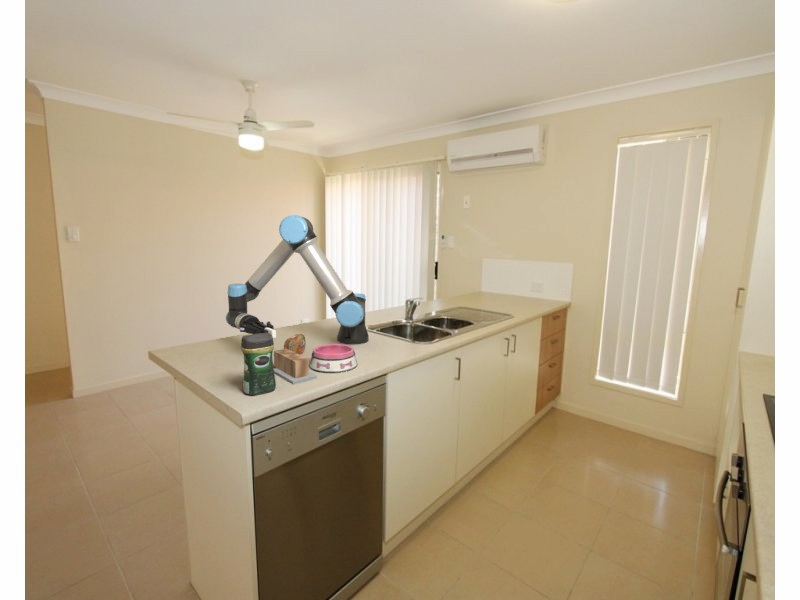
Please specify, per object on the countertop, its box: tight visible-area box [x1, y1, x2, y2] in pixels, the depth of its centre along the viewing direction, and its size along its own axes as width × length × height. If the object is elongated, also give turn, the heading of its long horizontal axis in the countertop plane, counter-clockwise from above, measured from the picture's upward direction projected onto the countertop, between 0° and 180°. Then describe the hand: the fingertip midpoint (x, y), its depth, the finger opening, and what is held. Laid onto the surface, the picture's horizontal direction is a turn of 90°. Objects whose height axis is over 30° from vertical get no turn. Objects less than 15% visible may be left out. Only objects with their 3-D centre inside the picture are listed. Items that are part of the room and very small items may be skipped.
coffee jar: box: [240, 333, 277, 396], centre depth 120 cm, size 10×8×19 cm
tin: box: [283, 333, 306, 355], centre depth 158 cm, size 15×3×8 cm, turn 168°
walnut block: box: [273, 348, 310, 379], centre depth 137 cm, size 5×6×16 cm
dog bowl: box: [309, 343, 358, 374], centre depth 147 cm, size 18×19×7 cm
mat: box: [273, 367, 318, 385], centre depth 136 cm, size 9×16×1 cm, turn 44°
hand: (274, 334), depth 144 cm, fingers closed
